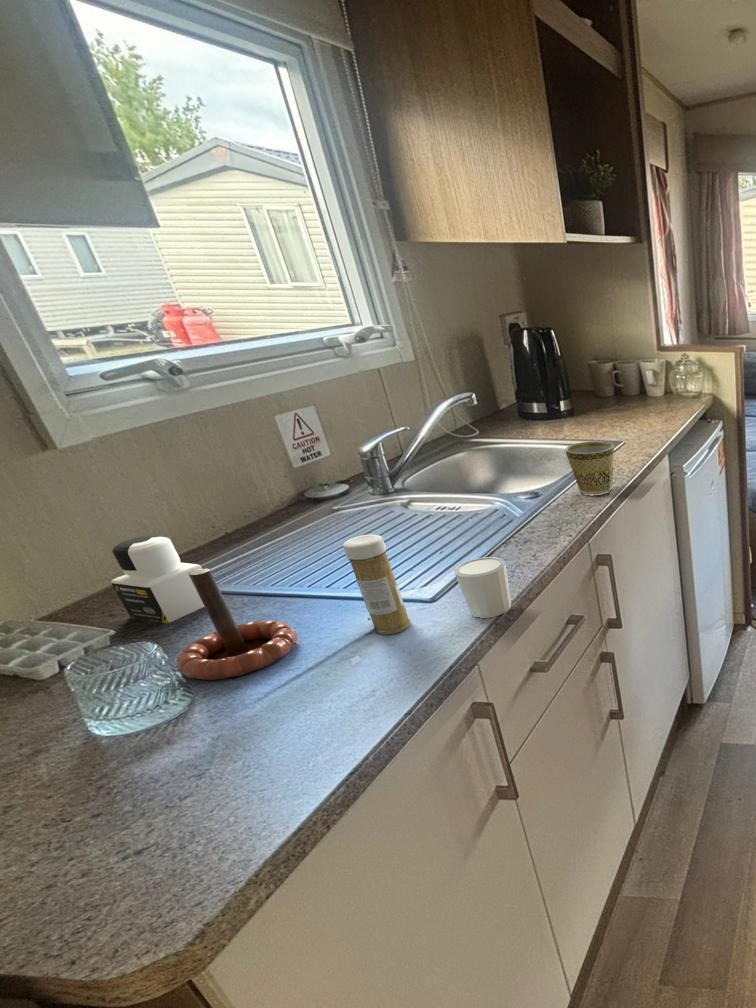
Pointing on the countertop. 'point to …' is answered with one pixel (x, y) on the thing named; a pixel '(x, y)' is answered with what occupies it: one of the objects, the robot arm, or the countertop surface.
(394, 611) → the sprinkles bottle
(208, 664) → the ring
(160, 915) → the countertop surface
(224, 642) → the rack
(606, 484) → the ceramic cup
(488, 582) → the white tapered tub
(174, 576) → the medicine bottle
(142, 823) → the countertop surface
